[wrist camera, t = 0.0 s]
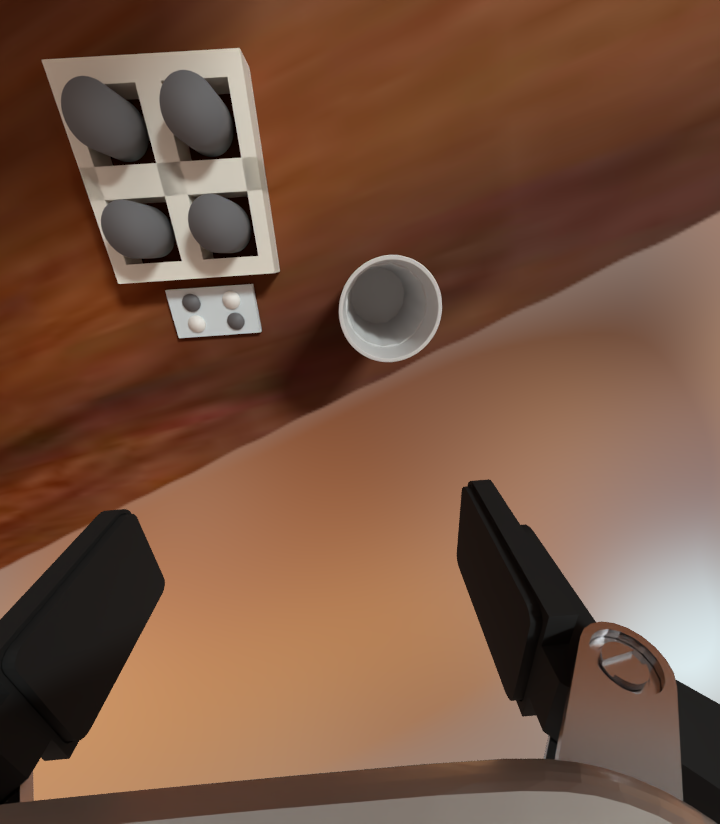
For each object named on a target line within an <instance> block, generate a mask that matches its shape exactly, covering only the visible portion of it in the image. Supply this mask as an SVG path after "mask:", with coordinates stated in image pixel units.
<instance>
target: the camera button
mask: <svg viewBox="0 0 720 824" xmlns="http://www.w3.org/2000/svg"><path fill="white" fill-rule="evenodd" d="M61 108H62V113H63V117H64V119H65V122H66V124H67V126H68V127H69V129H70V131H71V132H72V133H73V135H74V136H75V137H76V138H77V139H78V140H79V141H80V142H81V143H83V144H84V145H86V146H87V147H89V148H91V149H94V150H96V151H98V152H101V153H103V154H106V155H108V156H110V157H113V158H115V159H118V160H120V161H123V162H134V161H137V160H139V159H140V158H141V157H142V156H143V155H144V154H145V152H146V150H147V148H148V143H149V135H148V130H147V126H146V123H145V121H144V119H143V117H142V115H141V114H140V112H139V111H138V110H137V109H136V108H135V107H134V106H133V105H132V104H131V103H130V102H128V101H127V100H126V99H124V98H123V97H121V96H120V95H119V94H117V93H116V92H114V91H113V90H112V89H110V88H109V87H107V86H106V85H105V84H103V83H102V82H100V81H99V80H97V79H95V78H92V77H88V76H77V77H74V78H72V79H70V80H69V81H68V82H67V83H66V85H65V86H64V88H63V91H62V95H61Z"/></svg>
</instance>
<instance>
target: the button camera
mask: <svg viewBox="0 0 720 824" xmlns="http://www.w3.org/2000/svg"><path fill="white" fill-rule="evenodd" d="M101 227H102V231H103V234H104V236H105V238H106V240H107V241H108V243H109V244H110V245H111V246H112V247H113V248H114V249H115V250H116V251H117V252H118V253H120V254H122V255H123V256H126V257H129V258H133V259H145V258H162V257H164V256H166V255H168V254H169V253H170V252H171V251H172V249H173V247H174V244H175V233H174V229H173V226H172V224H171V222H170V220H169V219H168V218H167V217H166V215H165V214H164V213H162V212H161V211H160V210H158V209H157V208H155V207H152V206H149V205H145V204H141V203H137V202H133V201H129V200H115V201H112V202H110V203H109V204H108V205H107V206H106V207H105V208H104V210H103V212H102V216H101Z"/></svg>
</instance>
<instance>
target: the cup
mask: <svg viewBox="0 0 720 824" xmlns="http://www.w3.org/2000/svg"><path fill="white" fill-rule="evenodd" d="M441 313H442V299H441V294H440V290H439V287H438V285H437V283H436V281H435V279H434V277H433V276H432V274H431V273H430V272H429V271H428V270H427V269H426V268H425V267H424V266H423V265H422V264H420V263H419V262H417V261H415V260H413V259H411V258H408V257H405V256H400V255H385V256H380V257H377V258H374V259H372V260H370V261H368V262H366V263H364V264H363V265H362V266H360V267H359V268H358V269H357V270H356V271H355V272H354V273H353V274H352V275H351V276H350V278H349V279H348V281H347V282H346V284H345V286H344V288H343V291H342V293H341V297H340V302H339V320H340V325H341V328H342V331H343V333H344V335H345V337H346V339H347V340H348V342H349V343H350V344H351V346H352V347H353V348H354V349H355V350H357V351H358V352H359V353H360V354H362V355H364V356H365V357H367V358H370V359H372V360H376V361H381V362H396V361H400V360H404V359H407V358H409V357H411V356H413V355H415V354H416V353H418V352H419V351H421V350H422V349H423V348H424V347H425V346H426V345H427V344H428V343H429V342H430V340H431V339H432V337H433V336H434V334H435V332H436V330H437V328H438V325H439V322H440V319H441Z"/></svg>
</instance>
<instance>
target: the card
mask: <svg viewBox="0 0 720 824" xmlns="http://www.w3.org/2000/svg"><path fill="white" fill-rule="evenodd" d="M165 292H166V296H167V299H168V303H169V306H170V309H171V313H172V316H173V320H174V323H175V327H176V330H177V334H178V337H179V338H190V337H203V336H217V335H231V334H245V333H259V332H262V329H261V323H260V318H259V312H258V307H257V301H256V296H255V291H254V285H253V284H243V285H228V286H214V287H200V288H185V289H171V290H165Z"/></svg>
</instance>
